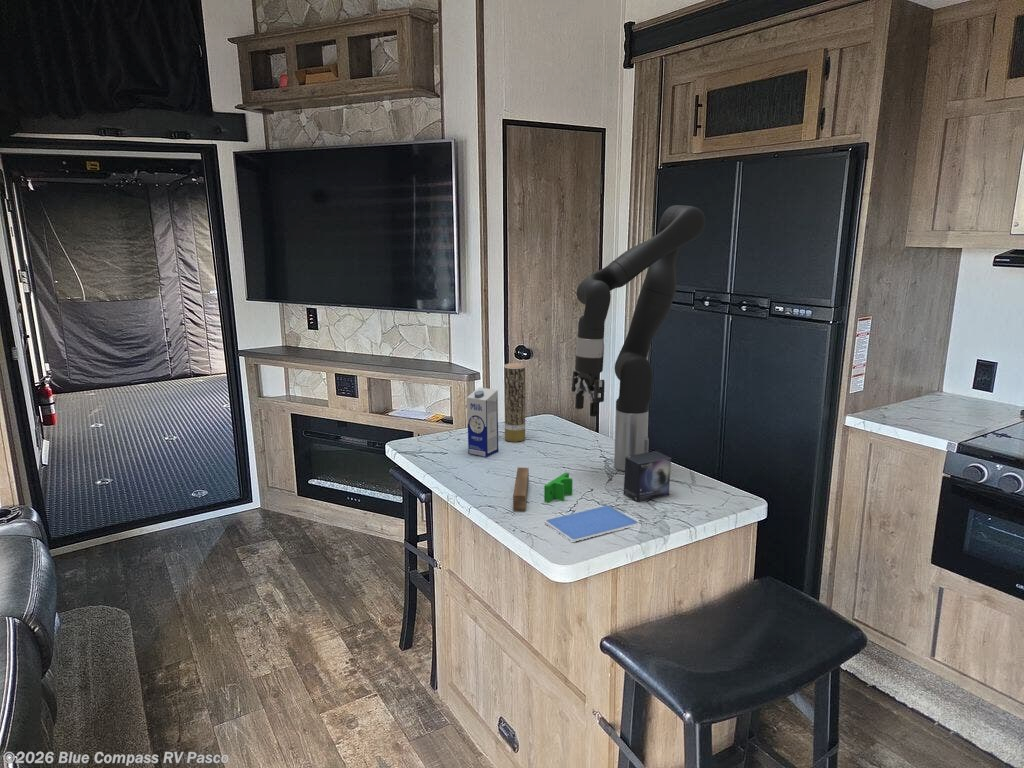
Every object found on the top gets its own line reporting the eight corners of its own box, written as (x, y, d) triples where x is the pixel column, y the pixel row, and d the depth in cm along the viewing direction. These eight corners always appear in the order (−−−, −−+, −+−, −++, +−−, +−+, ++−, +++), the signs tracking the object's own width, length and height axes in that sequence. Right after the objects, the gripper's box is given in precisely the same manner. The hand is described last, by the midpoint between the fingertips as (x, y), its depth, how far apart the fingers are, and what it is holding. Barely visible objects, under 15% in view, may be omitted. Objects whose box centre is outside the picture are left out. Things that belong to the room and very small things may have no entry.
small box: (637, 503, 171) (639, 463, 168) (622, 494, 176) (623, 456, 174) (670, 495, 176) (672, 457, 173) (654, 487, 181) (656, 450, 179)
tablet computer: (608, 508, 169) (608, 503, 169) (641, 527, 158) (641, 522, 158) (542, 525, 160) (542, 519, 159) (573, 546, 149) (573, 540, 149)
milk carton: (498, 451, 211) (498, 389, 207) (486, 457, 205) (485, 393, 201) (480, 448, 215) (479, 386, 210) (467, 453, 209) (466, 390, 205)
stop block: (528, 481, 186) (528, 467, 185) (525, 510, 166) (525, 495, 165) (517, 481, 186) (517, 467, 185) (513, 510, 166) (513, 495, 166)
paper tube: (528, 438, 225) (528, 364, 219) (520, 443, 219) (519, 367, 213) (510, 435, 228) (509, 362, 222) (501, 441, 222) (500, 366, 216)
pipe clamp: (557, 505, 170) (557, 488, 169) (544, 502, 172) (544, 485, 171) (577, 490, 179) (577, 474, 178) (565, 488, 181) (565, 472, 180)
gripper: (615, 358, 178) (611, 418, 181) (589, 349, 191) (586, 405, 194) (589, 359, 175) (586, 419, 178) (565, 350, 188) (562, 406, 191)
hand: (586, 412), depth 186 cm, fingers open, 8 cm apart
